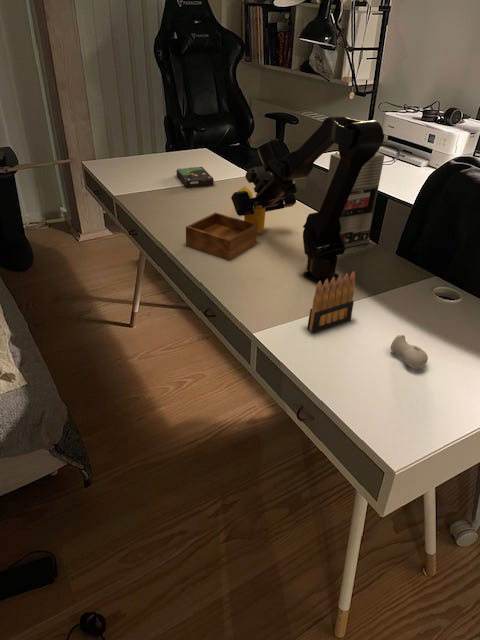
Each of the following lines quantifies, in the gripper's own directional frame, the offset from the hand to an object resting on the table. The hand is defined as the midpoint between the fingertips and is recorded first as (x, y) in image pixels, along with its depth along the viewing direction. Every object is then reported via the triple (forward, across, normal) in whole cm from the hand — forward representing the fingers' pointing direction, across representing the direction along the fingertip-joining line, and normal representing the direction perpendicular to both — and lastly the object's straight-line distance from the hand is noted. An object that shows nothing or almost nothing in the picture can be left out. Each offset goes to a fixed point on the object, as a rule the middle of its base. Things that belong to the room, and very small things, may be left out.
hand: (252, 212), depth 147 cm
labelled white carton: (-10, -19, +18) cm, 28 cm away
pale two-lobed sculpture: (-44, +6, +52) cm, 69 cm away
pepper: (+2, 0, +4) cm, 4 cm away
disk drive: (+37, -4, -30) cm, 48 cm away
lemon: (+13, -5, -6) cm, 15 cm away
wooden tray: (0, +13, +8) cm, 15 cm away
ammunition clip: (-32, +12, +40) cm, 53 cm away
